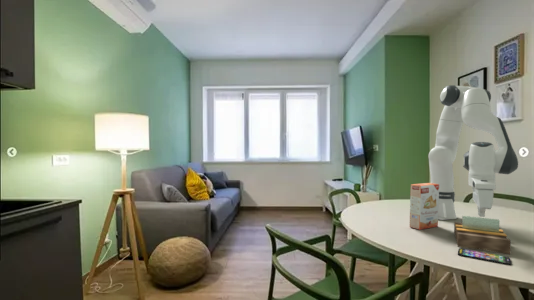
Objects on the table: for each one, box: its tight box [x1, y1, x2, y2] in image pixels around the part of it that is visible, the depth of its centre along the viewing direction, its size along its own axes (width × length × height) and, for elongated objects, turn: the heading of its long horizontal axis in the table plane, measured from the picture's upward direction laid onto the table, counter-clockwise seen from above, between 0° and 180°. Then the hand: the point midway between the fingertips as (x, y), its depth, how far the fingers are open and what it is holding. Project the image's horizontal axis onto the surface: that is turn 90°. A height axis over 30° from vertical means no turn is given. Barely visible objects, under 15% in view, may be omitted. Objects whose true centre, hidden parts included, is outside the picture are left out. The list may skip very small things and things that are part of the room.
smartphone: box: [457, 247, 512, 266], centre depth 104 cm, size 8×1×15 cm
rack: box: [453, 221, 511, 255], centre depth 119 cm, size 16×20×5 cm
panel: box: [461, 215, 501, 233], centre depth 119 cm, size 12×2×9 cm, turn 61°
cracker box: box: [409, 182, 439, 231], centre depth 141 cm, size 14×6×21 cm, turn 118°
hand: (481, 216), depth 118 cm, fingers closed
